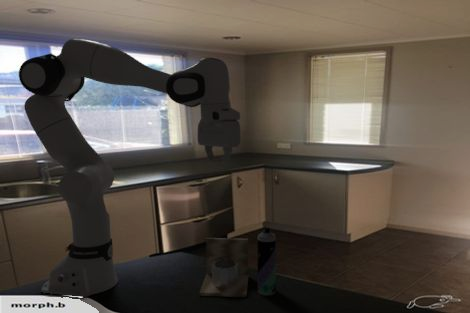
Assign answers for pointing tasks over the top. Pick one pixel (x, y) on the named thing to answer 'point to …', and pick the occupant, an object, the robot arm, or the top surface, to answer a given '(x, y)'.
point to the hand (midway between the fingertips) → (218, 161)
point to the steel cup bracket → (225, 273)
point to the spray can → (266, 262)
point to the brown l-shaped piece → (235, 251)
